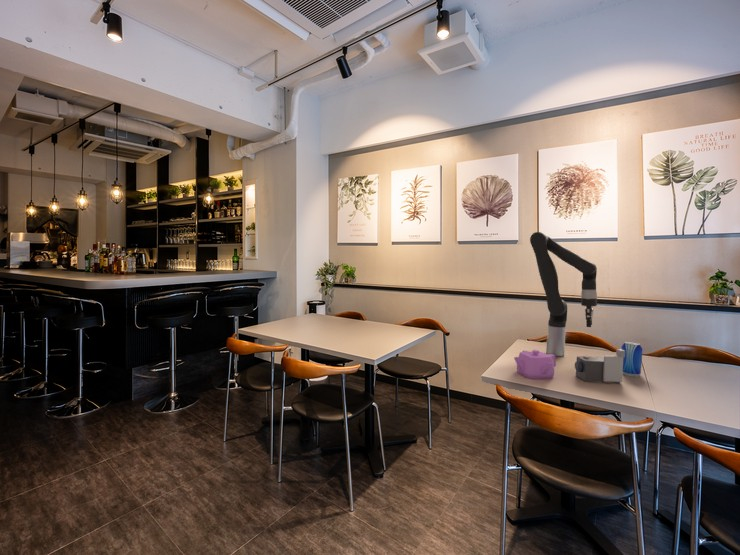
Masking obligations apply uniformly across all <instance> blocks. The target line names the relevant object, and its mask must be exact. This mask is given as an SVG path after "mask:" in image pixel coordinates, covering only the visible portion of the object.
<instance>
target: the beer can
mask: <svg viewBox="0 0 740 555" xmlns="http://www.w3.org/2000/svg"><path fill="white" fill-rule="evenodd" d="M620 349H622V350H624V351H625V357H623V373H622V375H625V376H629V377H636V378H637V377H640V375H641V374H642V363H643V362H642V361H643V347H642V346H641V343H639V342H636V341H624V342H623V344H622V345H621V348H620Z"/></svg>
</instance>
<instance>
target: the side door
mask: <svg viewBox="0 0 740 555" xmlns="http://www.w3.org/2000/svg"><path fill="white" fill-rule="evenodd" d="M615 352H616V353H615V354H616V355H603V357H604V368H603V381H607V382H620V383H622V382H623V357H625V351H624V350H622V349H621V348H616V350H615Z"/></svg>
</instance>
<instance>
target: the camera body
mask: <svg viewBox="0 0 740 555" xmlns="http://www.w3.org/2000/svg"><path fill="white" fill-rule="evenodd" d="M603 368H604V356H587V355H580V356H579V355H577V356H576V361H575V363H574V369H575V377H576V378H578V379H580V380H581V381H583V382H584V383H608V384H620V383H621V382H607V381H603Z"/></svg>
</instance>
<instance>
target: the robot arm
mask: <svg viewBox="0 0 740 555" xmlns="http://www.w3.org/2000/svg"><path fill="white" fill-rule="evenodd" d="M529 243H530V245H531V248H532V250H533V254H534V256H535V260H536V263H537V264H536V265H537V269H538V273H539V276H540V281H541V283H542V287H543V290H544V292H545V299H546V304H547V309H548V312H549V319H548V323H547V326H548V327H547V337H546V349H545V354H552V355H555V357H564V356H565V348H566V347H565V346H566V330H567V328H566V326H567V320H568V319H567V318H568V305H567V304H568V303H567V302H566V301H565V300H563V299H562V296H561V294H560V290H559V276H558V273H557V269H556V265H555V263H554V261H553V259H552V257H551V255H550V254H549V252H551V253H552V254H553V255H555V256H556V257H557V258H558V259H560V260H562V262H564V263H566V264H567V265H570V266H571V267H573V268H575V270H577V271H579V272H580V273H582V281H581V292H580V295H581V298H580V300H581V306H582V307H586V308H585V309H584V313H585V314H584V317H585V320H586V328H591V327H592V325H593V316H594V309H593V307H597V305H598V294H597V293H598V292H597V272H598V271H597V270H598V268H597V265H596V264H595V263H593V262H590V261H588V260H586V259H585V258H583V257H581V256H580V255H579V254H577V253H575V252H574V251H572V250H570V249H569V248H567V247H564V246H563V245H561V244H559V243H558V242H556V241H554V240H553V239H552V238H551V237H550V236H549V235H548V234H547V233H545V232H542V231H534V232H532V234H531V236H530V238H529Z"/></svg>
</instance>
